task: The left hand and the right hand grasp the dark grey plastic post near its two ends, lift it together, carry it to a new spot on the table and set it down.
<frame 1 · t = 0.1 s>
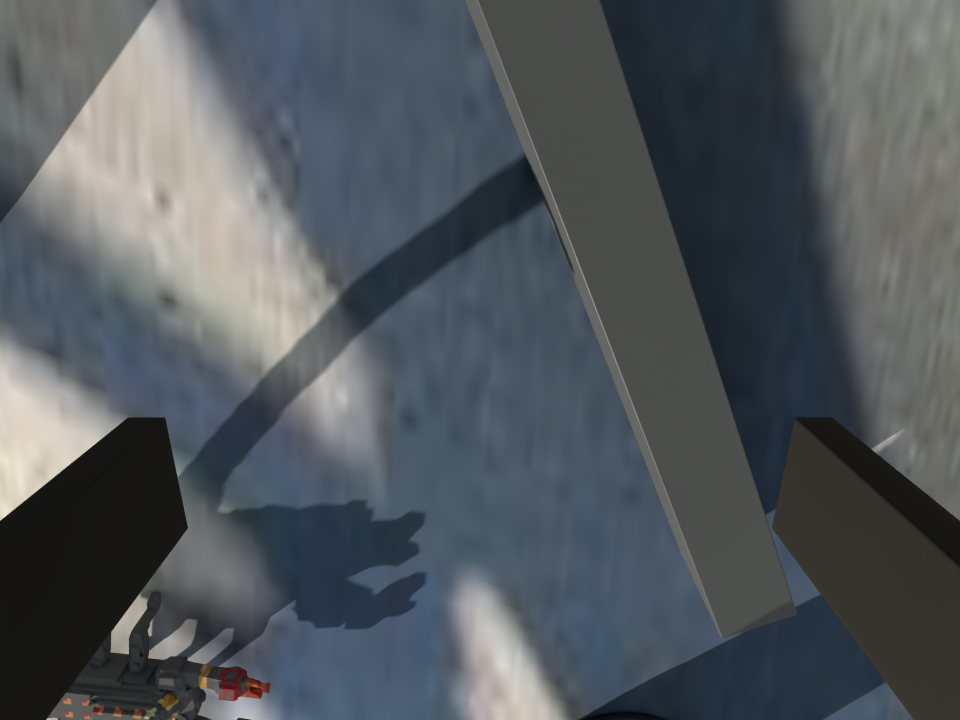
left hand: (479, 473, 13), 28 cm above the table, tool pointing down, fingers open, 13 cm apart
post: (525, 33, 35), on the table
toy: (141, 655, 51), on the table
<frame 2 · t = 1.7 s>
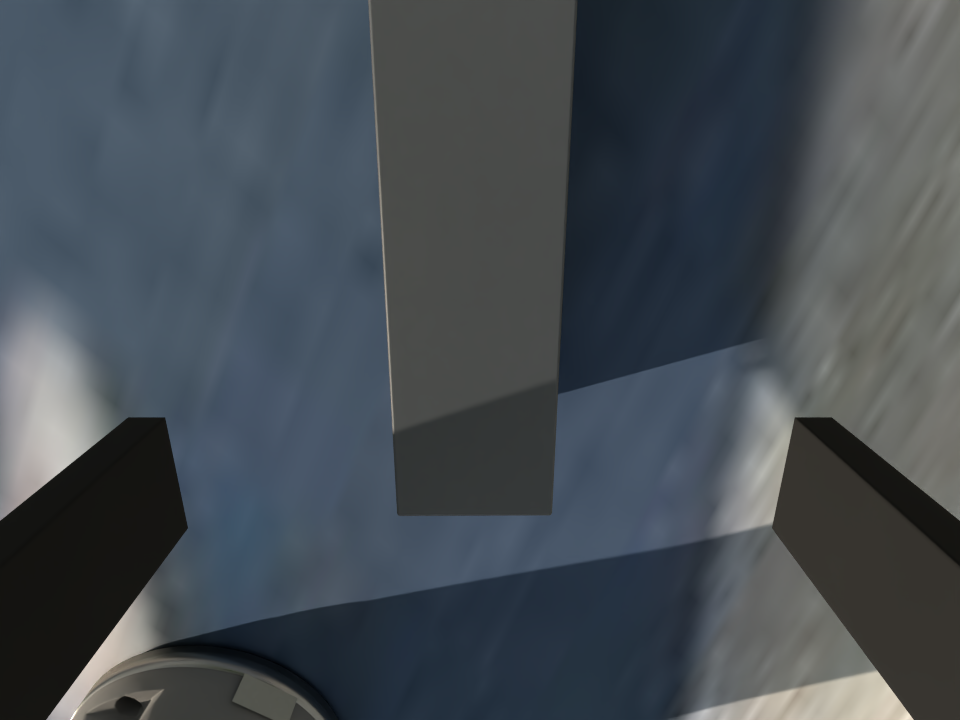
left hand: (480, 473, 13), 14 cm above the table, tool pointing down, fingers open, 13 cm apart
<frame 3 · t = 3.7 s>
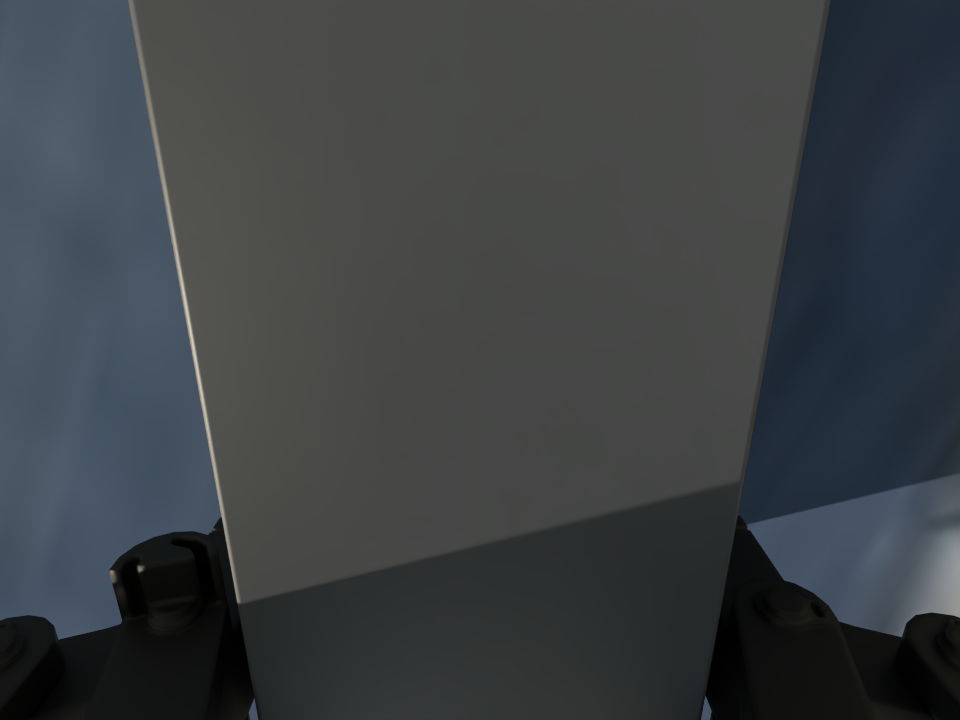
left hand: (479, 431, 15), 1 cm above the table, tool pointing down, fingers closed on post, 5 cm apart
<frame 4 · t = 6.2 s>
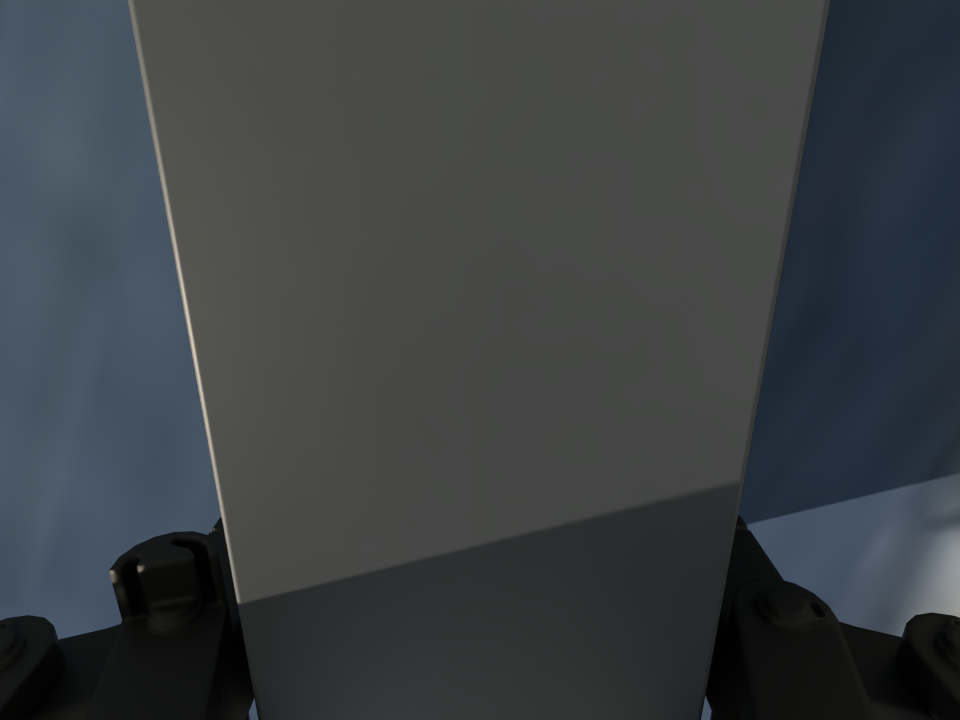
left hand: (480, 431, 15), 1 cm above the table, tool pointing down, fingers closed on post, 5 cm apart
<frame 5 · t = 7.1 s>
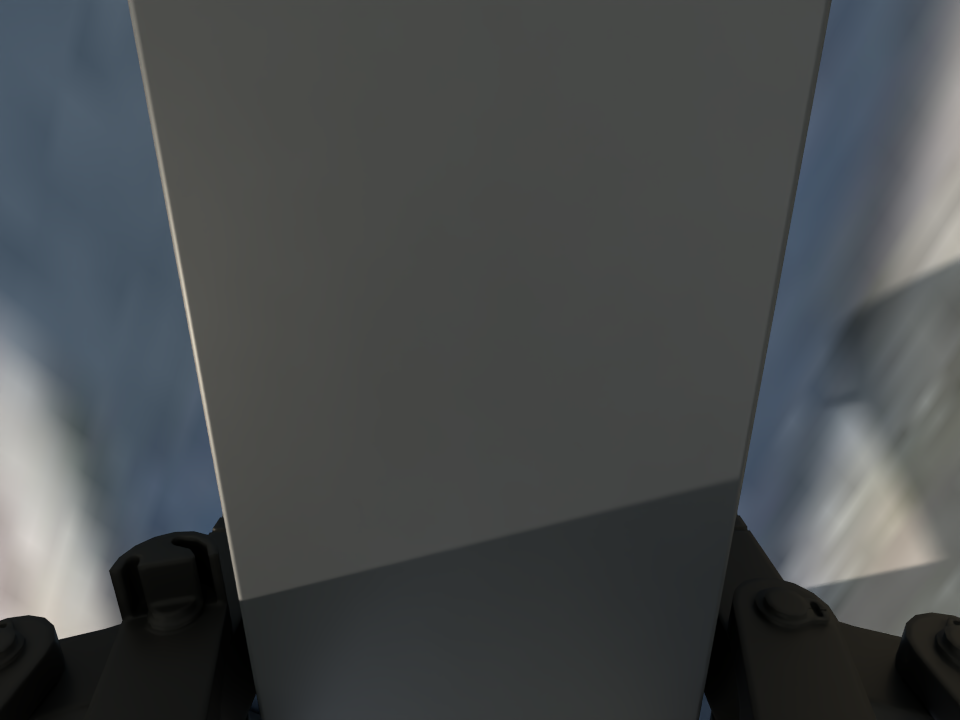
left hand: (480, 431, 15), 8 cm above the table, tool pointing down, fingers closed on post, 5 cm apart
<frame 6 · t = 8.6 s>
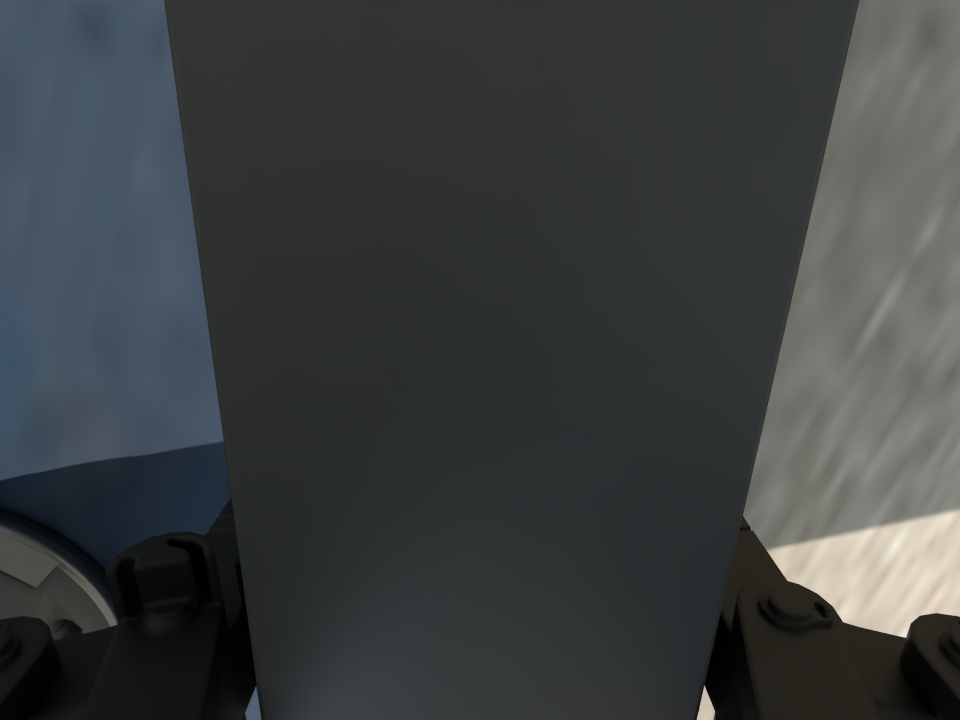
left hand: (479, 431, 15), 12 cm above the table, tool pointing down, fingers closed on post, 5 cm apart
when the left hand's fingers open (2 cm above the table, at t = 11.0 s): post stays where it is, on the table.
when the right hand's fingers open (2 cm above the table, at t = 11.0 s): post stays where it is, on the table.
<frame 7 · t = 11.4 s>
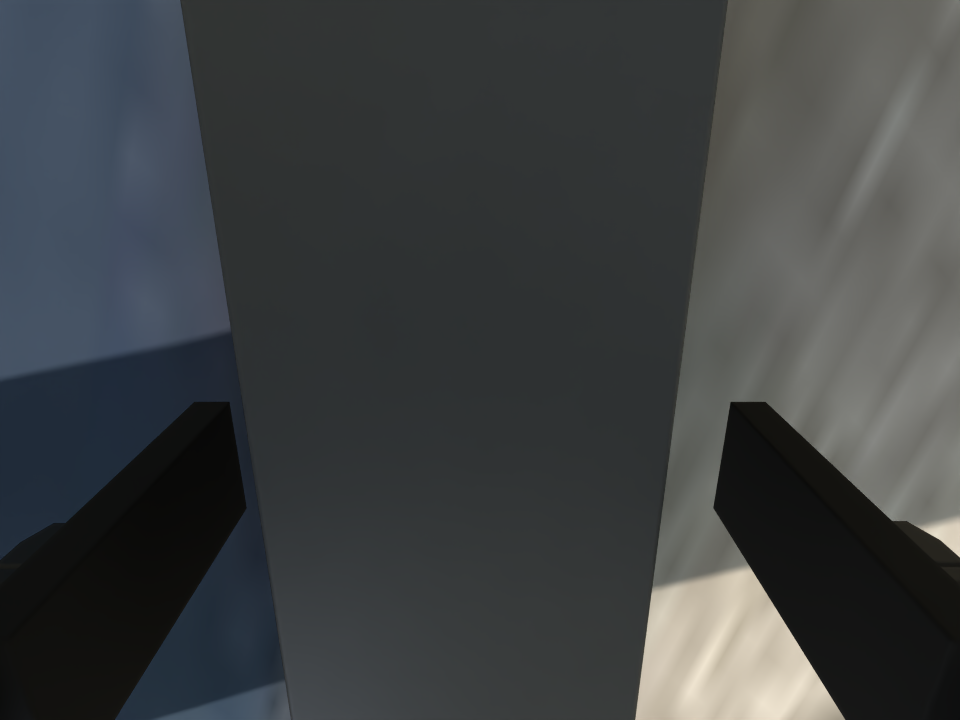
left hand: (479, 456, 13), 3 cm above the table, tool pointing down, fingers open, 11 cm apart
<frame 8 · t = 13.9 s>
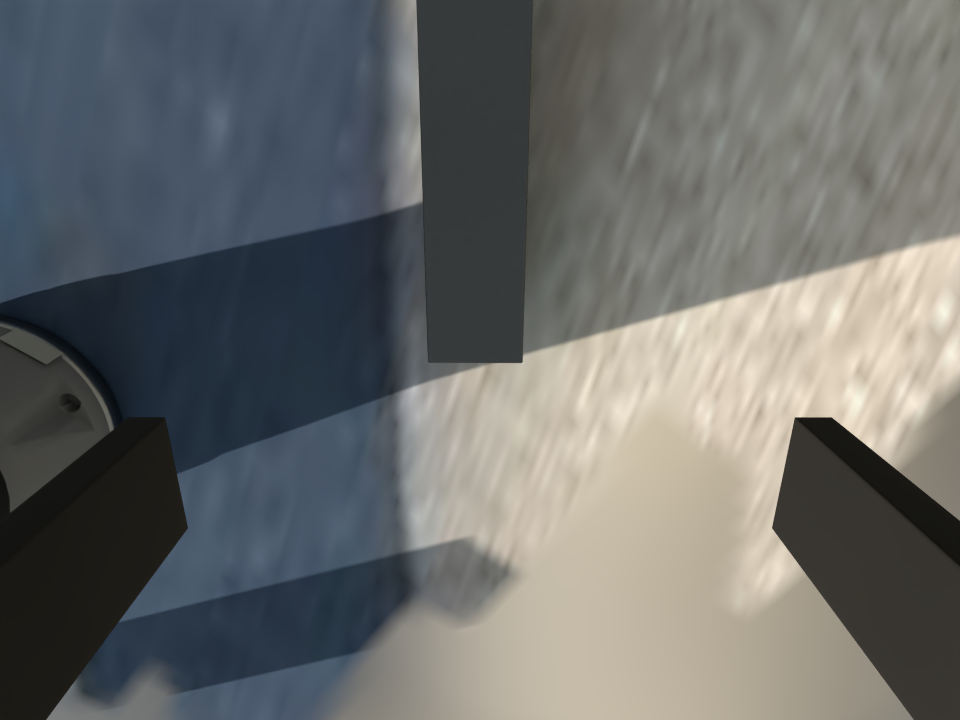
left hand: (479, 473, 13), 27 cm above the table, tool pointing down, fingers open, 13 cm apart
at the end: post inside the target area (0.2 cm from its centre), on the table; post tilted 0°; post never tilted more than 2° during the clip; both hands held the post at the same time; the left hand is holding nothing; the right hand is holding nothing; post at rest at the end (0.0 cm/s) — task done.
